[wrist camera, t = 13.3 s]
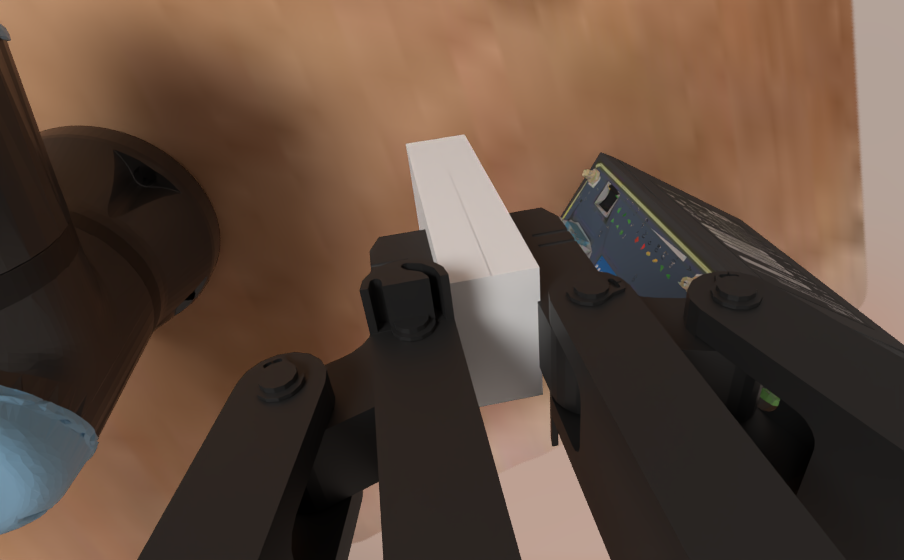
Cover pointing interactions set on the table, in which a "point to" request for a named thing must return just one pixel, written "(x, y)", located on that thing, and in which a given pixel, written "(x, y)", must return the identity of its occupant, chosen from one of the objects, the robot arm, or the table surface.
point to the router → (687, 245)
